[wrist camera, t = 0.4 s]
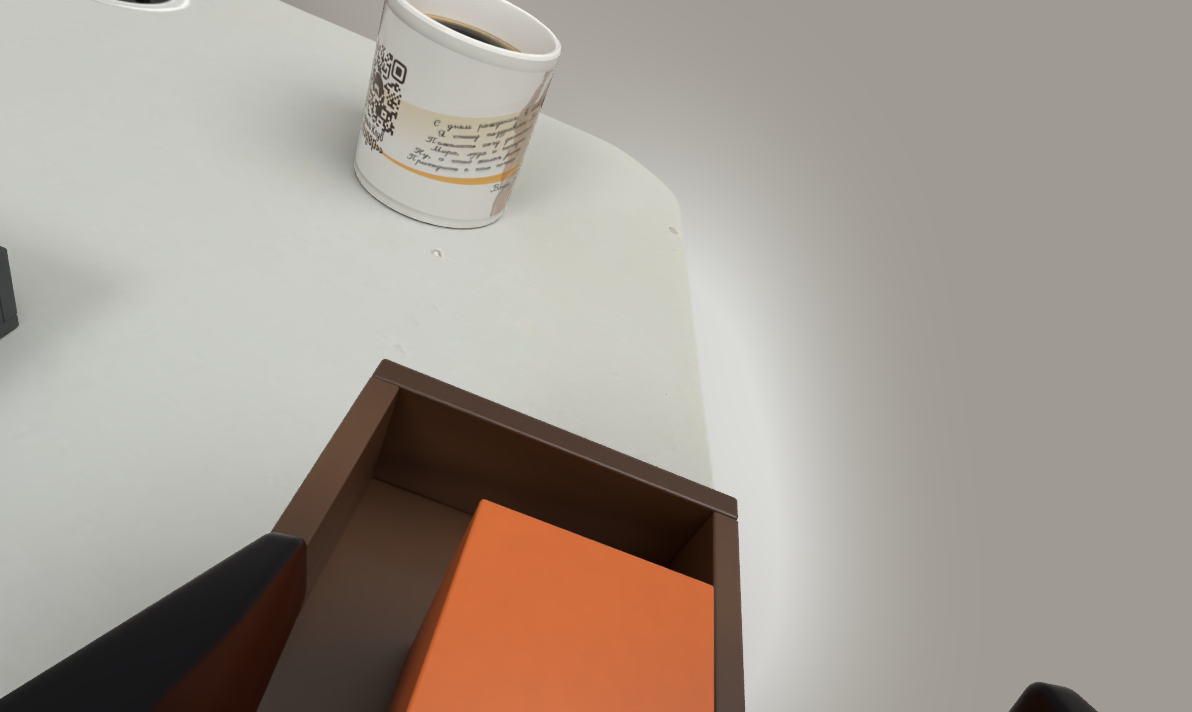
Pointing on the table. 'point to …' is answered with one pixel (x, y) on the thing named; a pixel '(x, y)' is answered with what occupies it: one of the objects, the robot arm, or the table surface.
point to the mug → (452, 107)
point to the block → (558, 628)
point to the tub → (6, 296)
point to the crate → (441, 517)
